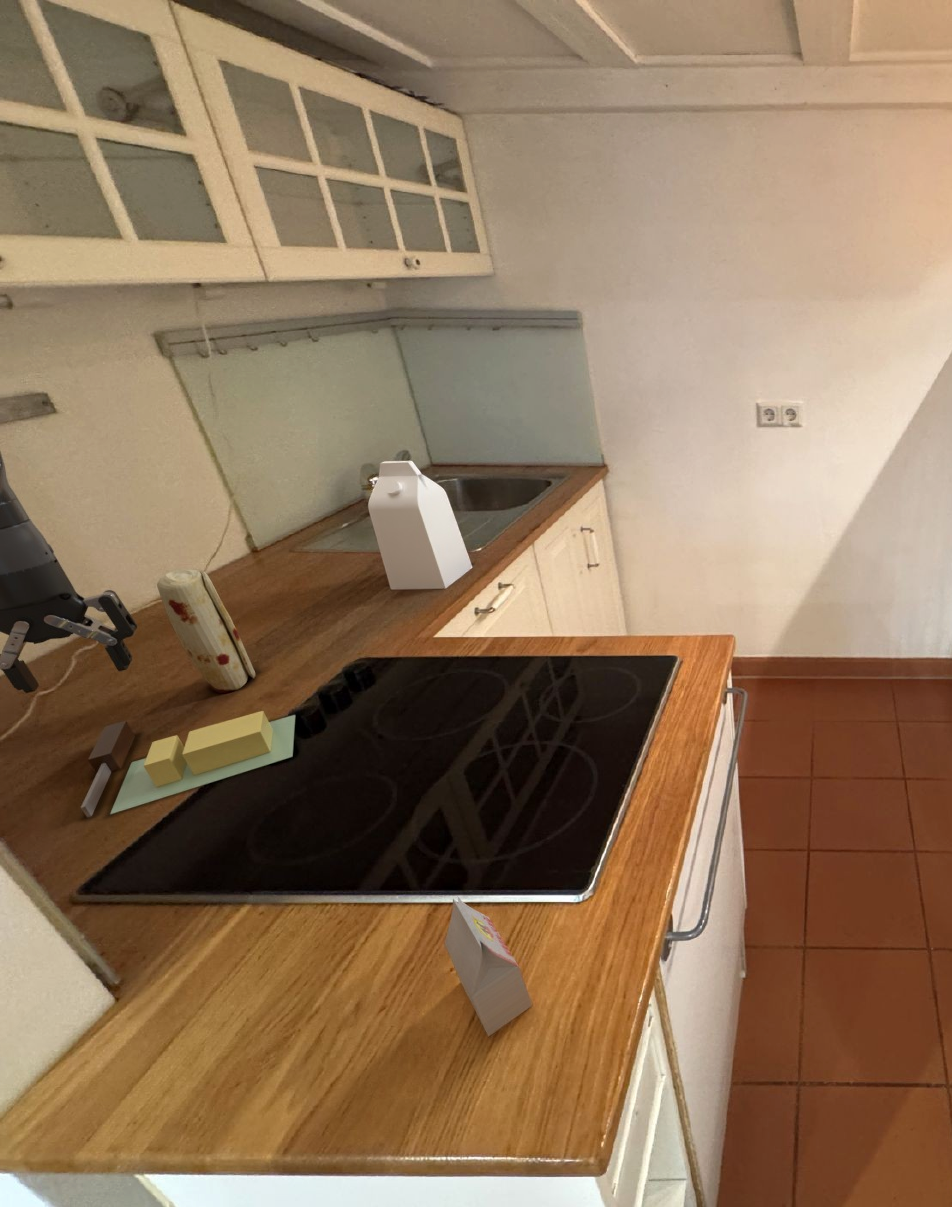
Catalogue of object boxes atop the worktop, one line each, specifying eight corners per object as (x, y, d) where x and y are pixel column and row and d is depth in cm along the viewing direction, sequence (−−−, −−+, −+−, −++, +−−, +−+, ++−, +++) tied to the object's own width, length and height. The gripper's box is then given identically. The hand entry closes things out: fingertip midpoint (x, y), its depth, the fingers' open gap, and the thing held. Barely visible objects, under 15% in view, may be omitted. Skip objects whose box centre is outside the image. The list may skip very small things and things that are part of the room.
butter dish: (113, 820, 80) (109, 814, 79) (135, 768, 89) (131, 762, 88) (295, 762, 89) (292, 756, 88) (297, 720, 98) (295, 714, 97)
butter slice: (156, 787, 83) (143, 765, 82) (164, 762, 88) (152, 741, 86) (182, 779, 85) (169, 757, 83) (189, 755, 89) (177, 734, 88)
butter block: (194, 775, 85) (181, 754, 84) (200, 752, 90) (188, 731, 88) (270, 752, 89) (260, 731, 88) (273, 730, 94) (263, 710, 92)
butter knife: (80, 826, 79) (64, 803, 77) (117, 746, 93) (104, 726, 91) (105, 818, 80) (90, 796, 78) (138, 741, 94) (126, 720, 93)
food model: (206, 680, 109) (148, 569, 100) (257, 666, 113) (205, 557, 104) (208, 705, 102) (146, 588, 93) (262, 688, 106) (207, 574, 97)
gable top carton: (490, 1042, 55) (458, 963, 50) (463, 988, 59) (430, 910, 55) (534, 1011, 57) (506, 932, 52) (504, 961, 61) (476, 884, 57)
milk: (472, 567, 151) (440, 454, 139) (445, 588, 140) (408, 468, 129) (421, 568, 151) (384, 456, 139) (390, 589, 141) (348, 469, 129)
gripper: (-99, 588, 71) (-11, 711, 79) (82, 557, 79) (147, 673, 86) (-68, 568, 77) (11, 684, 84) (98, 540, 84) (158, 650, 91)
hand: (80, 678), depth 85 cm, fingers open, 8 cm apart
